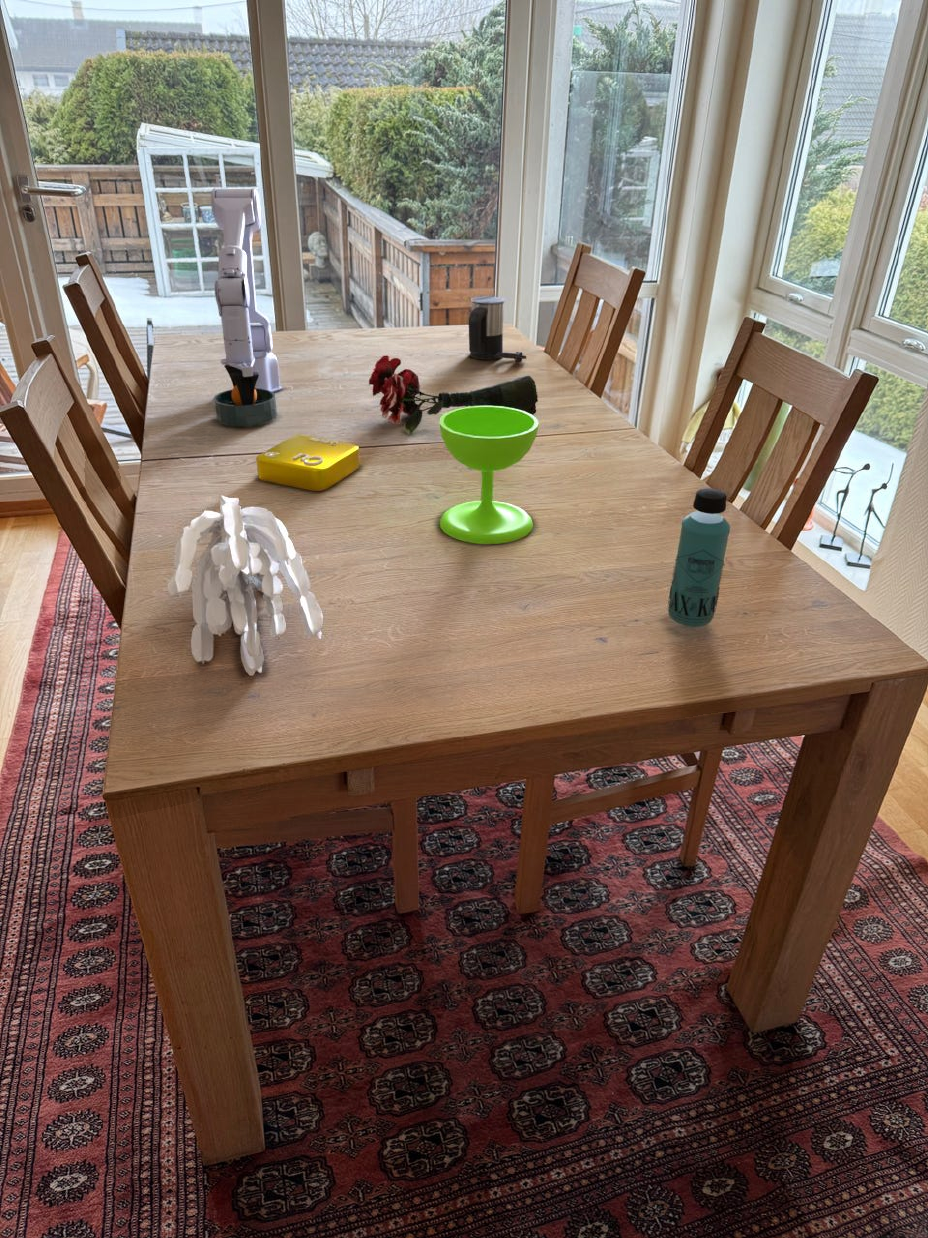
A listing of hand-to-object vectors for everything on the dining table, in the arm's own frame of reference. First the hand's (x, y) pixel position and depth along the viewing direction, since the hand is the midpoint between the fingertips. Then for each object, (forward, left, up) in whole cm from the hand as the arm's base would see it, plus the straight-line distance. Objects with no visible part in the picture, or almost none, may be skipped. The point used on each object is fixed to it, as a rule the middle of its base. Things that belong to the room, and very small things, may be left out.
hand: (244, 400), depth 199 cm
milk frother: (-74, +21, -4) cm, 77 cm away
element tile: (+16, +32, -4) cm, 36 cm away
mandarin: (0, 0, +1) cm, 1 cm away
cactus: (+62, +60, -4) cm, 86 cm away
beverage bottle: (+30, +113, -4) cm, 117 cm away
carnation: (-25, +38, -4) cm, 45 cm away
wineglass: (+17, +72, -4) cm, 74 cm away
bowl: (0, 0, -4) cm, 4 cm away
